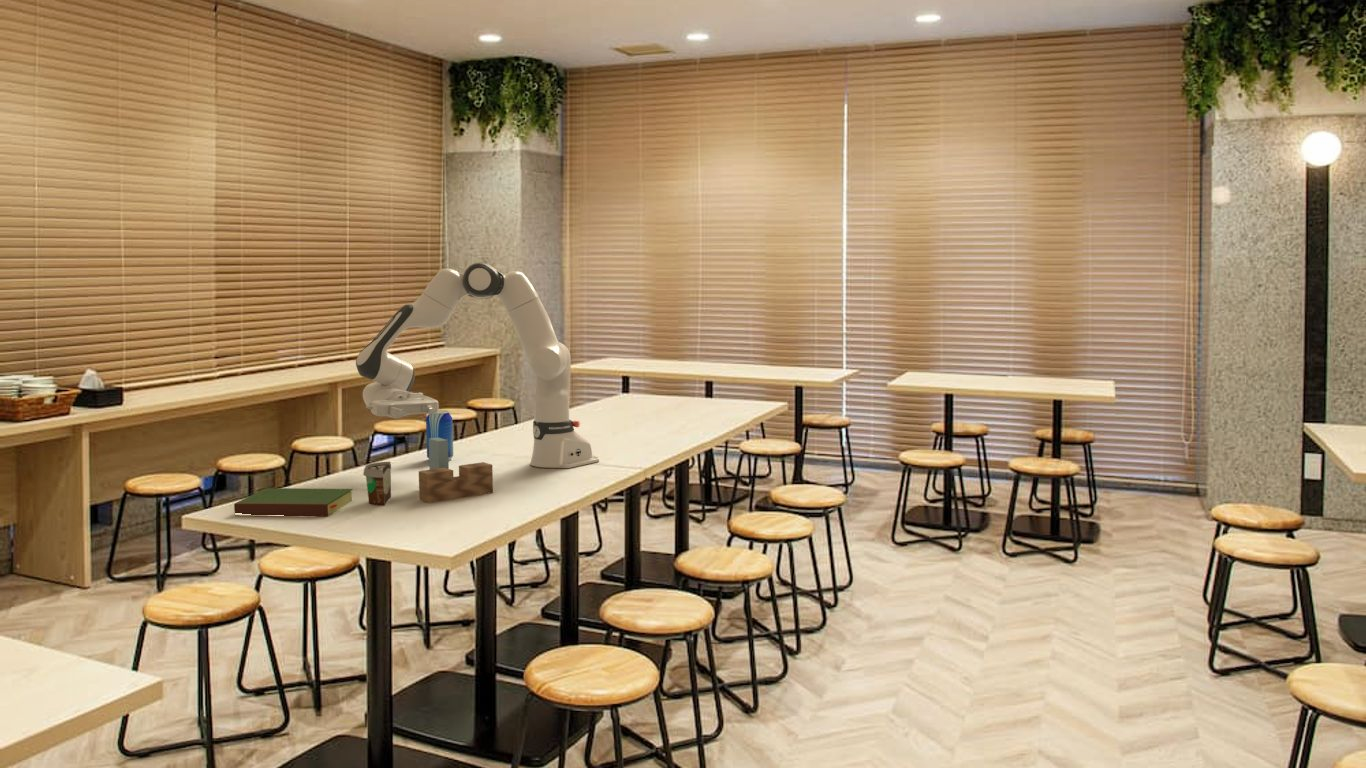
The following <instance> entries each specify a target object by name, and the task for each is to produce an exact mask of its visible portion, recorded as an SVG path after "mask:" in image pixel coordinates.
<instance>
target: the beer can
mask: <svg viewBox="0 0 1366 768" xmlns="http://www.w3.org/2000/svg"><path fill="white" fill-rule="evenodd" d="M425 429H426V432H425V433H426V435H425V437H426V458H427V459H429V439H430V438H442V439H445V440H448V461H449V462H450V461H452V459H453V457H454V432H453V417H452V416H451V414H450V411H449V410H447V409H446V410H442V409H438V412H437V413H433V414H428V415H427V417H426V419H425Z"/></svg>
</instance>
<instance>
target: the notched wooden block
mask: <svg viewBox="0 0 1366 768" xmlns="http://www.w3.org/2000/svg"><path fill="white" fill-rule="evenodd" d="M493 472H494V471H493V464H492V463H487V462H483V461H482V462H476V463H475V462H474V463H467V464H461V465H458V475H457V476H454V469H453V470H452V469H450V468H449V469H447V468H438V469H431V470H430V469H425V470H418V493H419V494H418V495H419V501H421V502H425V503H427V504H430V503H436V502H442V501H450V500H456V499H461V498H469V497H473V496H474V497H475V496H479V495H481V496H482V495H486V494H487V495H488V494H492V493H494V484H493V483H494V481H493V479H494V477H493Z"/></svg>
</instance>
